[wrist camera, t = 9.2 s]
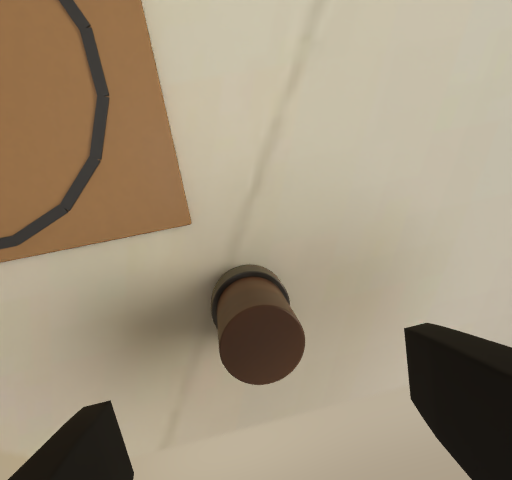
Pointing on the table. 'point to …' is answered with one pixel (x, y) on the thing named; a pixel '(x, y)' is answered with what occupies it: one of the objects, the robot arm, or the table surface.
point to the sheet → (81, 128)
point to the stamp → (256, 325)
